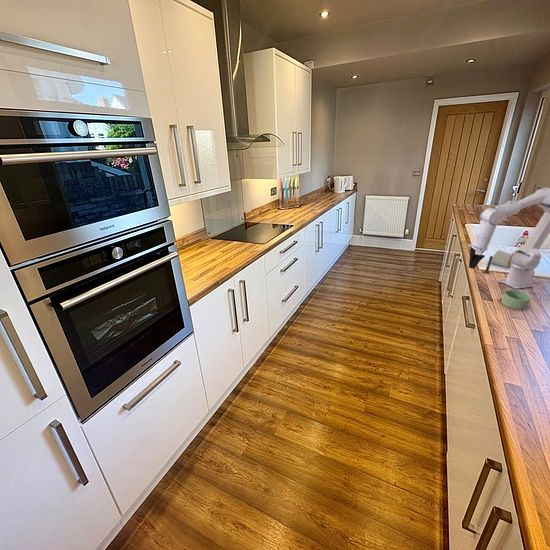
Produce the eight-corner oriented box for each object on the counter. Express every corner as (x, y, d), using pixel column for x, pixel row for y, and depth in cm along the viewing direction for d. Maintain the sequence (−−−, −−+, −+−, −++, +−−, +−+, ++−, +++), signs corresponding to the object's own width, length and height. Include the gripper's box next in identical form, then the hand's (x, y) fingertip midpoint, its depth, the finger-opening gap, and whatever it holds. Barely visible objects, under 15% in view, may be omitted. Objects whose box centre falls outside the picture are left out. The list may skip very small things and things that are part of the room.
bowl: (512, 297, 127) (515, 288, 125) (532, 308, 119) (536, 298, 117) (495, 300, 125) (499, 291, 123) (515, 311, 117) (519, 301, 115)
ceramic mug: (507, 269, 152) (512, 256, 149) (490, 264, 158) (494, 251, 155) (514, 264, 158) (519, 251, 155) (497, 260, 164) (502, 247, 161)
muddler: (486, 271, 151) (491, 254, 147) (489, 273, 149) (495, 256, 145) (482, 272, 150) (488, 255, 146) (486, 273, 148) (492, 257, 144)
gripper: (473, 231, 133) (462, 258, 139) (472, 238, 122) (460, 267, 127) (491, 235, 129) (479, 262, 135) (492, 242, 118) (479, 272, 124)
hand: (471, 265), depth 131 cm, fingers open, 7 cm apart
